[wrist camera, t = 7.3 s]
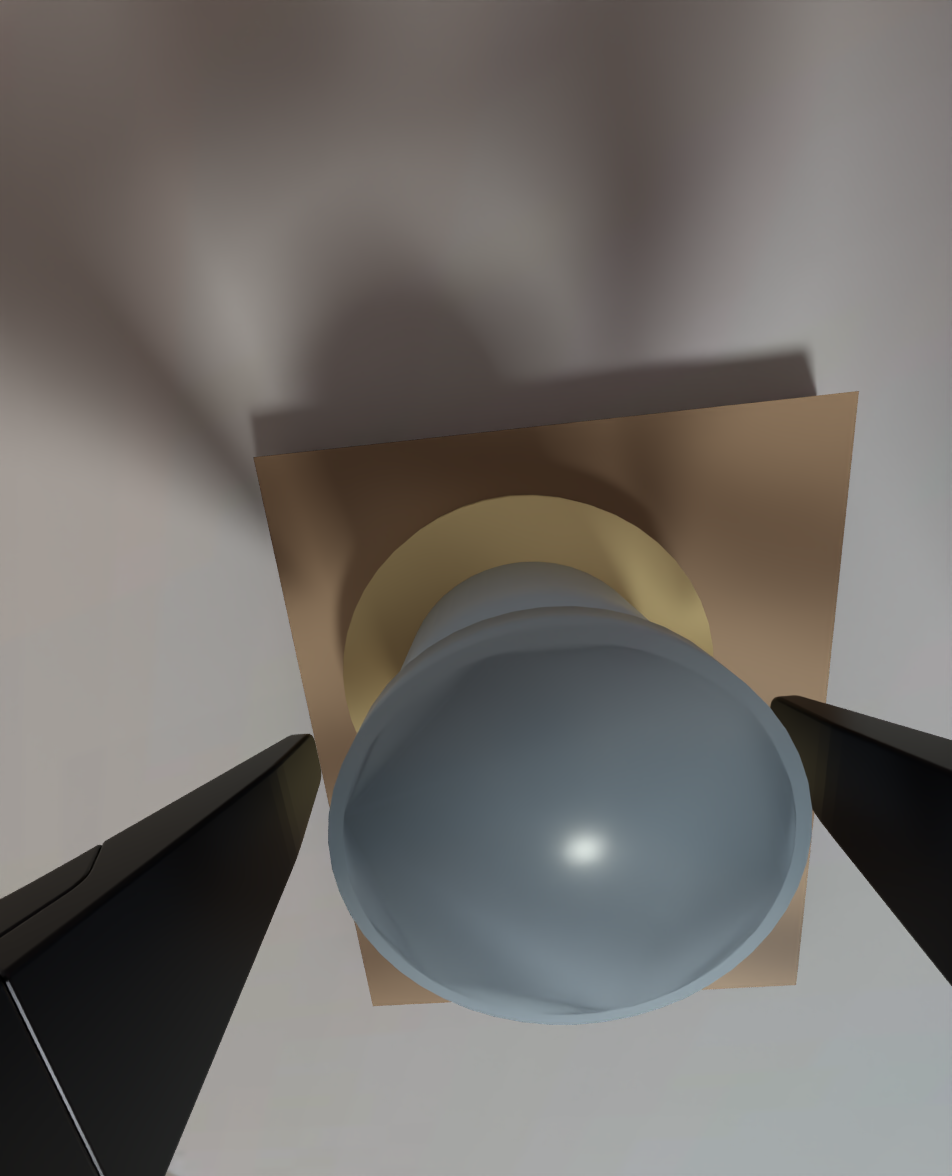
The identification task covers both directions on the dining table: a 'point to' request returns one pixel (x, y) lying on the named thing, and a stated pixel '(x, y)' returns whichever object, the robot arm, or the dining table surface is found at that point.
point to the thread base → (572, 560)
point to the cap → (565, 806)
